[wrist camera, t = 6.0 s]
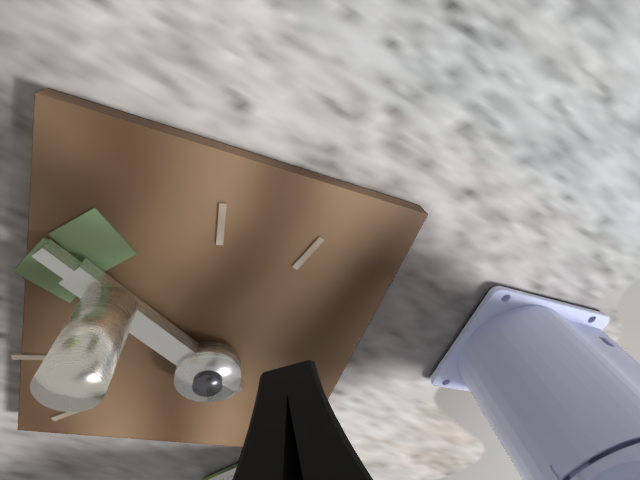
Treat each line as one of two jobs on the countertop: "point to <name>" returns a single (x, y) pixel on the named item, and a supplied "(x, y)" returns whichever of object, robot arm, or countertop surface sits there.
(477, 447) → the countertop surface
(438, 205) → the countertop surface
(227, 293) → the dial board
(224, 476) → the syrup box
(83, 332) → the needle
